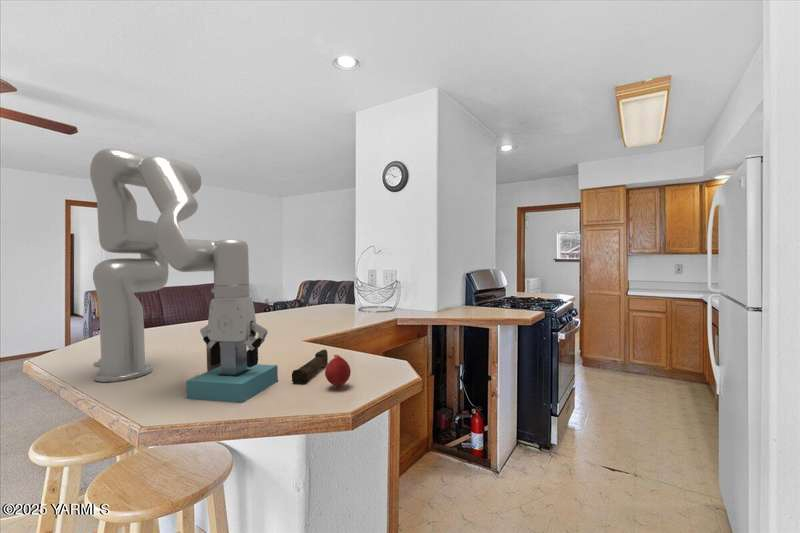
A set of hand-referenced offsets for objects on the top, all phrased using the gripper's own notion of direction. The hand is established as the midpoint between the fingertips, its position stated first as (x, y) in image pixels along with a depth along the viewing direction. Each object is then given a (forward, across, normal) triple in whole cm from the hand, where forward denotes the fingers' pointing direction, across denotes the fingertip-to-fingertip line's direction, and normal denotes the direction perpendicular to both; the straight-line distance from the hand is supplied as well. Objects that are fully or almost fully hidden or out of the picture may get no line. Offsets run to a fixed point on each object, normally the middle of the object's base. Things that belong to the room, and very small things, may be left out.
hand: (234, 364), depth 87 cm
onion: (+6, +24, +5) cm, 25 cm away
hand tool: (+6, +12, +15) cm, 21 cm away
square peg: (+5, 0, 0) cm, 5 cm away
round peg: (+6, -11, +9) cm, 15 cm away
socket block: (+6, 0, 0) cm, 6 cm away
